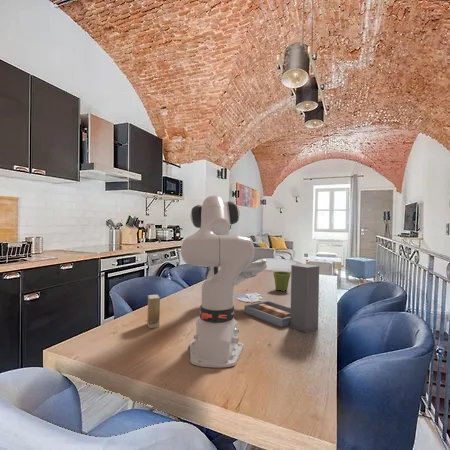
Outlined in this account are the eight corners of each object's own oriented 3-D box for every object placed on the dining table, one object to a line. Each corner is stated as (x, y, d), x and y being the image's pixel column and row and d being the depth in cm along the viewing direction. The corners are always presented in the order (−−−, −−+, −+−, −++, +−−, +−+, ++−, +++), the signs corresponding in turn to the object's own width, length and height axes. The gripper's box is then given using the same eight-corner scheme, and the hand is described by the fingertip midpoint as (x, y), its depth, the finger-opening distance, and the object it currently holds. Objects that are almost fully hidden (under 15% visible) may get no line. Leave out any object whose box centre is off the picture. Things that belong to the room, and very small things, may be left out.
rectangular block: (258, 310, 143) (258, 304, 143) (262, 309, 145) (263, 303, 145) (285, 321, 128) (285, 314, 128) (290, 320, 130) (290, 313, 130)
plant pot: (271, 291, 187) (271, 273, 187) (274, 287, 198) (274, 270, 198) (289, 293, 183) (290, 275, 183) (291, 289, 194) (292, 272, 194)
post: (290, 326, 123) (291, 265, 123) (302, 322, 128) (303, 263, 128) (305, 332, 117) (307, 267, 117) (318, 328, 122) (319, 266, 122)
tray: (244, 312, 141) (244, 305, 141) (268, 307, 151) (268, 300, 151) (282, 327, 122) (282, 319, 122) (306, 320, 131) (306, 312, 131)
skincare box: (147, 323, 124) (147, 294, 124) (157, 322, 126) (157, 294, 126) (148, 328, 118) (149, 298, 118) (159, 327, 120) (160, 297, 120)
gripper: (225, 267, 150) (240, 256, 140) (254, 264, 162) (270, 254, 152) (228, 279, 148) (244, 269, 138) (258, 275, 160) (274, 265, 150)
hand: (258, 261), depth 145 cm, fingers open, 8 cm apart
